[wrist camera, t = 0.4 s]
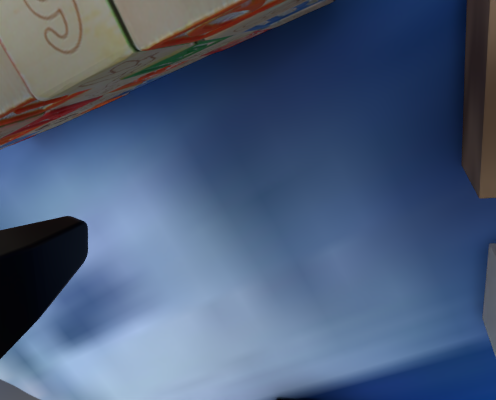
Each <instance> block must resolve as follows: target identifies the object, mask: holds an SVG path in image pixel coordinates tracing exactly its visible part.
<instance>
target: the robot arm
mask: <svg viewBox="0 0 496 400" xmlns="http://www.w3.org/2000/svg"><path fill="white" fill-rule="evenodd" d="M87 254H88V226H87V224H86V223H85V222H84V221H82V220H79V219H77V218H74V217H71V216H65V217H60V218H56V219H51V220H46V221H42V222H37V223H32V224H28V225H23V226H18V227H14V228H9V229H5V230H0V359H1V358H2V357H3V356H4V355H5V354H6V353H7V351H8V350H9V349H10V348H11V347H12V346H13V345H14V344H15V343H16V342H17V341H18V340H19V339H20V338H21V337H22V336H23V335H24V334H25V333H26V332H27V331H28V330H29V329H30V328H31V327H32V325H33V324H34V323H35V322H36V321H37V320H38V319H39V318H40V317H41V316H42V314H43V313H44V312H45V311H46V310H47V308H48V307H49V306H50V305H51V303H52V302H53V301H54V299H55V298H56V297H57V296H58V294H59V293H60V292H61V291H62V289H63V288H64V287H65V286H66V284H67V283H68V282H69V281H70V279H71V278H72V277H73V275H74V274H75V273H76V272H77V270H78V269H79V268H80V267H81V265H82V264H83V263H84V261H85V259H86V257H87ZM277 400H281V399H277Z"/></svg>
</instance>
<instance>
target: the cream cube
mask: <svg viewBox="0 0 496 400" xmlns="http://www.w3.org/2000/svg"><path fill="white" fill-rule="evenodd" d="M482 318H483V321H484V324H485V327H486V330H487V333H488V336H489V339H490V342H491V345H492V348H493V351H494V354H495V356H496V243H489V251H488V262H487V273H486V284H485V295H484V306H483V317H482Z"/></svg>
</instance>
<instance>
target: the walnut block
mask: <svg viewBox="0 0 496 400" xmlns="http://www.w3.org/2000/svg"><path fill="white" fill-rule="evenodd" d="M462 167H463V169H464V170H465V172H466V174H467V176H468V178H469V180H470V182H471V184H472V186H473V188H474V189H475V191H476V193H477V195H478V197H479V198H496V0H467V17H466V47H465V77H464V107H463V137H462Z"/></svg>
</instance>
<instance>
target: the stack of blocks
mask: <svg viewBox="0 0 496 400" xmlns="http://www.w3.org/2000/svg"><path fill="white" fill-rule="evenodd" d="M333 1H335V0H0V150H1V149H3V148H5V147H7V146H10V145H13V144H16V143H18V142H20V141H23V140H25V139H28V138H30V137H32V136H34V135H36V134H38V133H41V132H44V131H46V130H49V129H51V128H53V127H56V126H58V125H61V124H63V123H65V122H67V121H70V120H72V119H74V118H76V117H78V116H81V115H83V114H85V113H87V112H89V111H91V110H93V109H96V108H98V107H101V106H103V105H105V104H107V103H109V102H112V101H114V100H116V99H118V98H120V97H122V96H125V95H127V94H129V92H130V91H132V90H135V89H137V88H139V87H141V86H143V85H146V84H148V83H150V82H152V81H154V80H157V79H159V78H161V77H163V76H165V75H168V74H169V73H171V72H173V71H176V70H178V69H180V68H182V67H184V66H187V65H189V64H191V63H193V62H195V61H198V60H200V59H202V58H204V57H206V56H208V55H211V54H213V53H216V52H219V51H223V50H225V49H227V48H229V47H232V46H234V45H236V44H238V43H241V42H243V41H245V40H247V39H250V38H252V37H254V36H256V35H259V34H261V33H263V32H265V31H267V30H270V29H272V28H275V27H278V26H280V25H283V24H285V23H287V22H289V21H292V20H294V19H296V18H298V17H300V16H303V15H305V14H307V13H309V12H312V11H314V10H316V9H318V8H321V7H323V6H325V5H327V4H330V3H332V2H333Z"/></svg>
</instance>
